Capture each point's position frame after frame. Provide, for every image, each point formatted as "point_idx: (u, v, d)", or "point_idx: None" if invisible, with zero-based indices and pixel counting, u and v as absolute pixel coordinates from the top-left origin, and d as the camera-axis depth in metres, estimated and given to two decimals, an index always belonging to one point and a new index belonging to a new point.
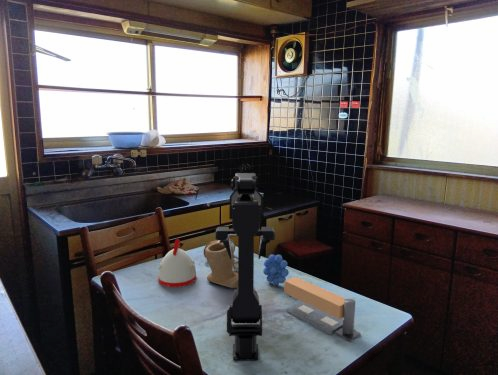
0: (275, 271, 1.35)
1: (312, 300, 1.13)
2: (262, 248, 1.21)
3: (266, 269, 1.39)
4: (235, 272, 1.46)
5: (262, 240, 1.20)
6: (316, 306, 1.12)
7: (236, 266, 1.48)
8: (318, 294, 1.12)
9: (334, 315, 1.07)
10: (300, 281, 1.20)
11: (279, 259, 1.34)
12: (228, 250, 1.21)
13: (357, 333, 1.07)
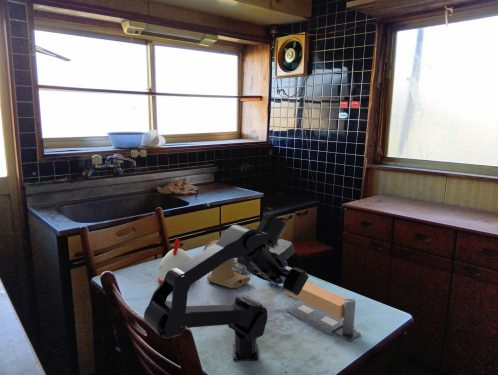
0: None
1: (312, 300, 1.13)
2: None
3: None
4: (236, 272, 1.46)
5: None
6: (316, 306, 1.12)
7: (237, 266, 1.48)
8: (318, 294, 1.12)
9: (334, 315, 1.07)
10: None
11: None
12: (270, 281, 1.07)
13: (357, 333, 1.07)
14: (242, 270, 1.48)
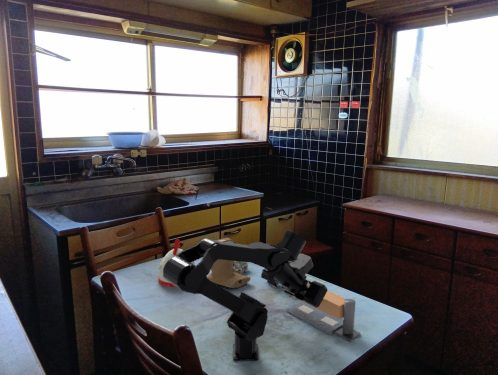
0: None
1: None
2: None
3: None
4: (238, 271, 1.46)
5: (297, 295, 1.08)
6: None
7: (238, 265, 1.49)
8: None
9: (334, 315, 1.07)
10: None
11: None
12: None
13: (357, 333, 1.07)
14: (243, 269, 1.49)
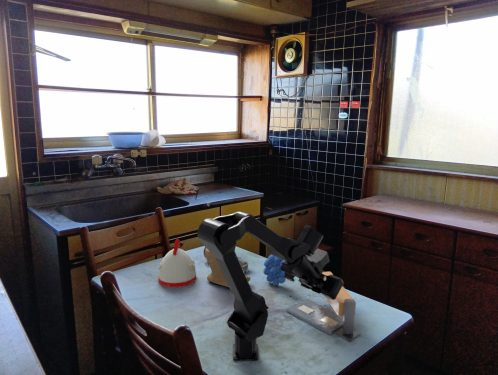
0: (275, 271, 1.35)
1: None
2: None
3: (266, 269, 1.39)
4: None
5: (314, 288, 1.12)
6: (328, 300, 1.15)
7: None
8: None
9: (336, 311, 1.09)
10: None
11: (279, 259, 1.34)
12: None
13: (357, 333, 1.07)
14: (244, 269, 1.49)
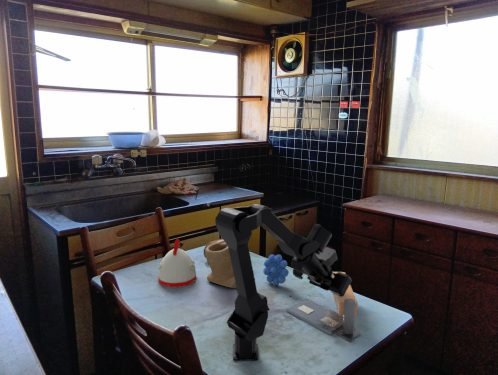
0: (275, 271, 1.35)
1: None
2: None
3: (266, 269, 1.39)
4: None
5: (321, 285, 1.15)
6: (334, 299, 1.16)
7: None
8: None
9: (338, 310, 1.09)
10: None
11: (279, 259, 1.34)
12: None
13: (357, 333, 1.07)
14: None
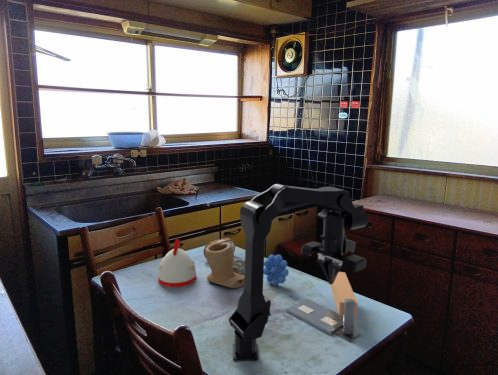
0: (275, 271, 1.35)
1: (334, 293, 1.17)
2: (330, 273, 1.07)
3: (266, 269, 1.39)
4: (241, 270, 1.48)
5: (330, 264, 1.06)
6: (334, 299, 1.16)
7: (239, 264, 1.50)
8: (339, 288, 1.15)
9: (338, 310, 1.09)
10: (342, 276, 1.24)
11: (279, 259, 1.34)
12: (325, 273, 1.08)
13: (357, 333, 1.07)
14: None
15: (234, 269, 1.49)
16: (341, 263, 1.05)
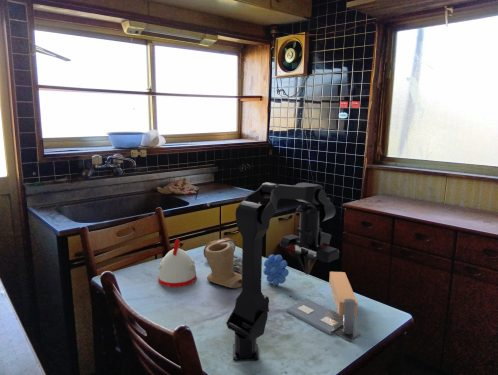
0: (275, 271, 1.35)
1: (334, 293, 1.17)
2: (306, 263, 1.13)
3: (266, 269, 1.39)
4: None
5: (306, 255, 1.13)
6: (334, 299, 1.16)
7: (240, 264, 1.51)
8: (339, 288, 1.15)
9: (338, 310, 1.09)
10: (342, 276, 1.24)
11: (279, 259, 1.33)
12: (301, 264, 1.15)
13: (357, 333, 1.07)
14: None
15: (235, 269, 1.49)
16: (316, 254, 1.11)
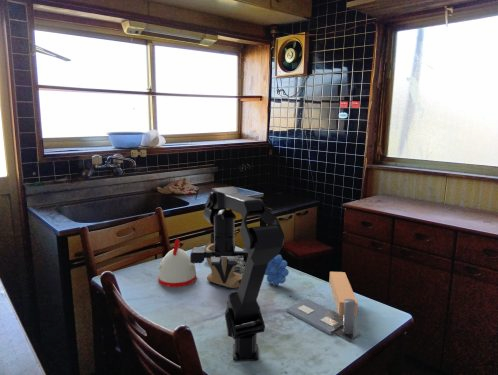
0: (275, 271, 1.35)
1: (334, 293, 1.17)
2: (228, 272, 1.07)
3: (266, 269, 1.39)
4: (244, 268, 1.49)
5: (227, 263, 1.06)
6: (334, 299, 1.16)
7: (240, 263, 1.51)
8: (339, 288, 1.15)
9: (338, 310, 1.09)
10: (342, 276, 1.24)
11: (279, 259, 1.34)
12: (220, 274, 1.07)
13: (357, 333, 1.07)
14: None
15: (236, 268, 1.50)
16: None
